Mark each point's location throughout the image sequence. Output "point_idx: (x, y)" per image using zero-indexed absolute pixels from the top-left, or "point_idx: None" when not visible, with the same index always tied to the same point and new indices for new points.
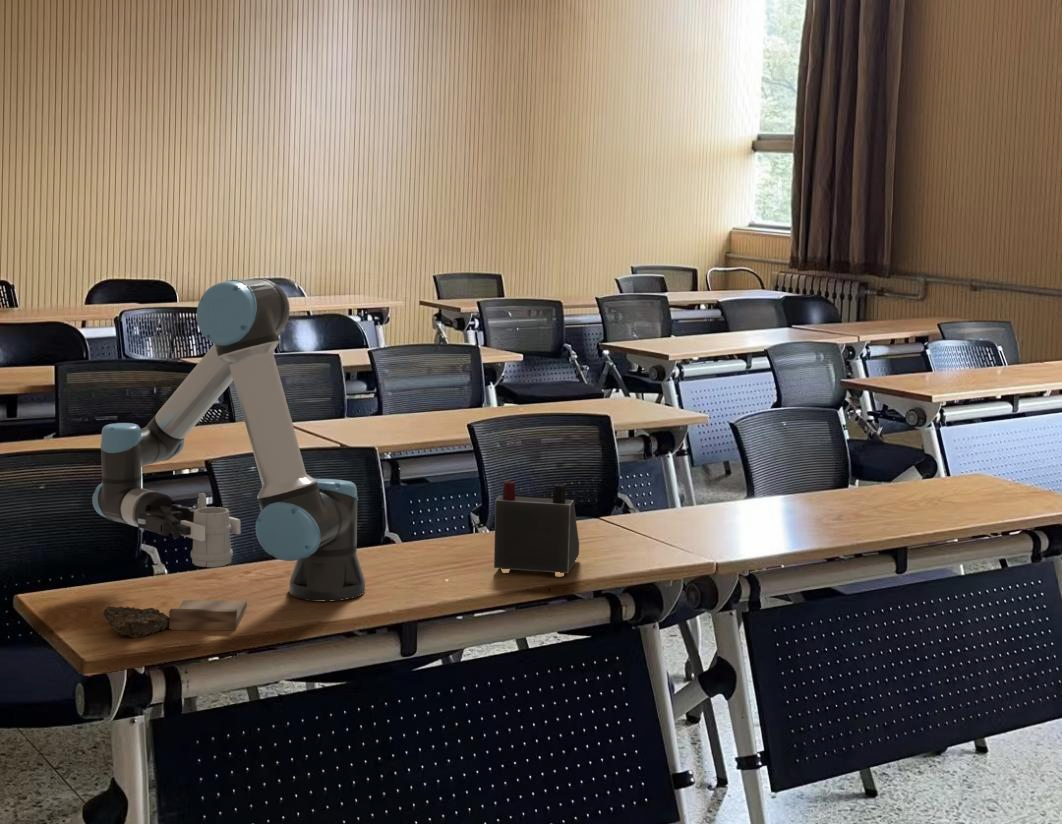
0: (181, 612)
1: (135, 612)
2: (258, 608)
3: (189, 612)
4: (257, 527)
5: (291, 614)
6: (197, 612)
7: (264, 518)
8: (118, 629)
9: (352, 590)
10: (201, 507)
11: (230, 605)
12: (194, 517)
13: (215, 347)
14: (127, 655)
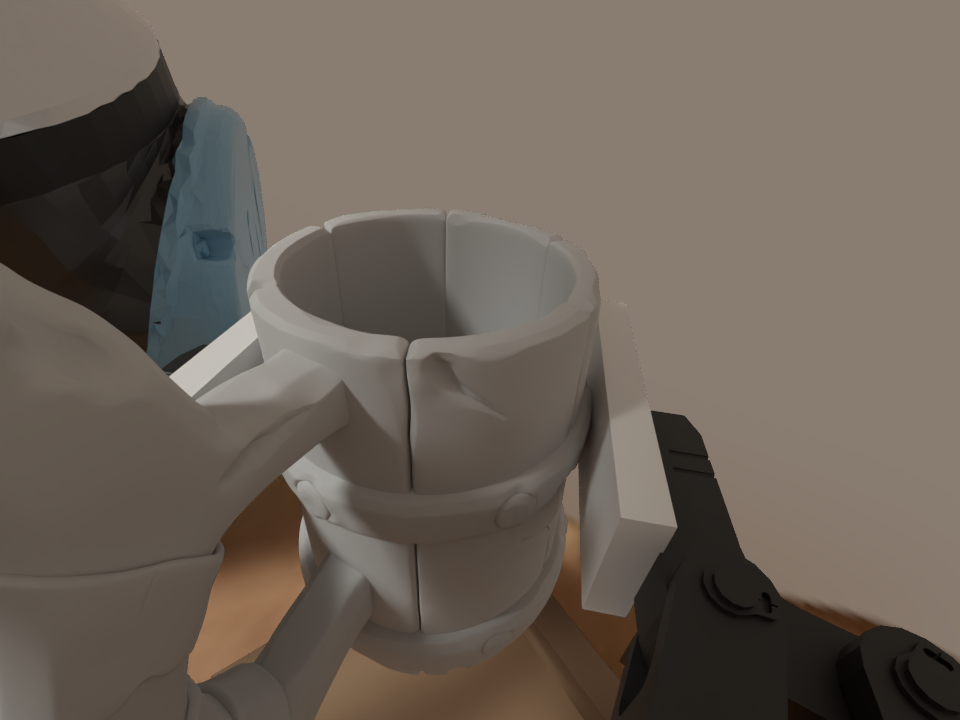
0: (605, 665)
1: None
2: (211, 644)
3: (581, 634)
4: (237, 296)
5: (261, 506)
6: (558, 606)
7: (237, 222)
8: None
9: None
10: (231, 435)
11: None
12: (586, 357)
13: None
14: (861, 627)
